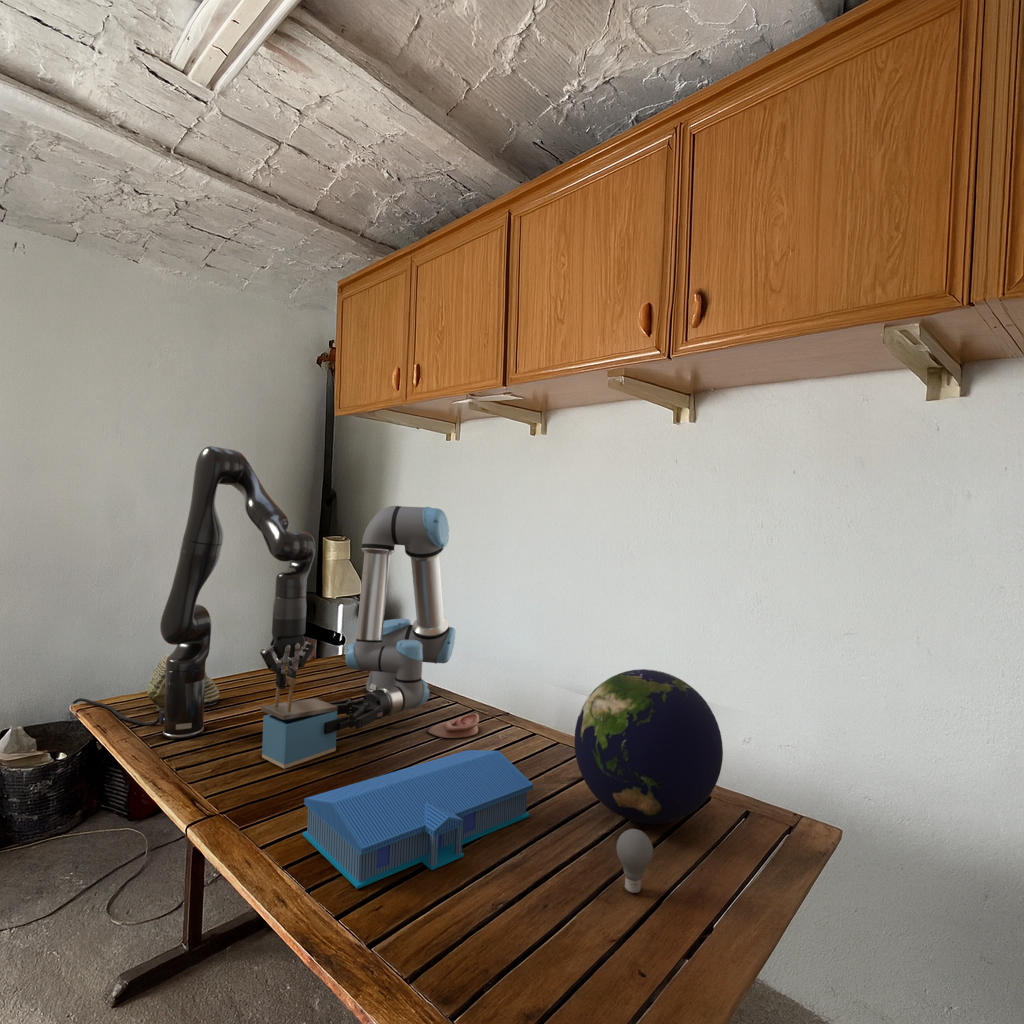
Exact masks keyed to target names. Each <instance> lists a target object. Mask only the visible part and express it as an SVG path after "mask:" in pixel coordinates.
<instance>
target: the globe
mask: <svg viewBox="0 0 1024 1024" xmlns="http://www.w3.org/2000/svg"><path fill="white" fill-rule="evenodd" d="M573 741H574V754H575V758H576V759H575V760H576V763H577V766H578V769H579V772H580V775H581V777H582V779H583V781H584V782H585V784H586V786H587V787H588V789H589V790H590V792H591V793H592V794H593V796H594V797H595V798H596V799H597V800H598V801H599V802H600V803H601V804H602V805H603V806H604V807H606V808H607V809H608V810H610V811H611V812H613V813H614V814H615V815H617V816H620V817H622V818H624V819H626V820H628V821H631V822H634V823H639V824H645V825H663V824H668V823H672V822H676V821H679V820H682V819H684V818H686V817H688V816H689V815H692V813H694V812H695V811H697V810H698V809H699V808H700V807H701V806H702V805H703V804H704V803H705V802H706V801H707V800H708V799H709V797H710V796H711V794H712V793H713V791H714V789H715V787H716V786H717V783H718V781H719V778H720V774H721V770H722V766H723V760H724V748H723V739H722V733H721V730H720V727H719V724H718V721H717V718H716V716H715V714H714V712H713V710H712V709H711V707H710V705H709V704H708V702H707V701H706V700H705V698H704V697H703V696H702V695H701V694H700V693H699V692H698V691H697V689H695V688H694V687H692V686H691V685H690V684H689V683H687V682H686V681H684V680H682V678H681V679H680V678H679V677H677V676H675V675H673V674H671V673H667V672H664V671H662V670H661V671H660V670H657V669H651V668H641V669H640V668H639V669H631V670H626V671H622V672H620V673H618V674H614V675H612V676H611V677H608V678H606V680H604V681H603V682H602V683H600V684H599V685H598V686H597V687H595V688H594V689H593V690H592V692H591V693H590V694H589V695H588V697H587V698H586V700H585V701H584V703H583V705H582V707H581V708H580V711H579V713H578V716H577V719H576V723H575V729H574V740H573Z"/></svg>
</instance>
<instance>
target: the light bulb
mask: <svg viewBox="0 0 1024 1024" xmlns="http://www.w3.org/2000/svg"><path fill="white" fill-rule="evenodd" d="M615 849H616V854H617V857H618V859H619V861H620V863H621V865H622V867H623V873H624V874H623V875H624V876H625V878H624V888H625V890H627V891H628V892H630V893H634V894H635V893H639V892H640V891H641V889H642V887H641V886H642V879H643V877H644V875H645V871H646V868H647V867H648V866H649V864H650V863H651V861H652V859H653V855H654V847H653V843H652V841H651V838H649V836H648V835H647V834H646V833H645V832H643V831H642V830H641V829H636V828H629V829H627V830H625V831H623V832H622V833H621V834H620V835H619V837H618V839H617V841H616V847H615Z"/></svg>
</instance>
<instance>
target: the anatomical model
mask: <svg viewBox="0 0 1024 1024" xmlns="http://www.w3.org/2000/svg"><path fill="white" fill-rule="evenodd" d="M479 722H480V716H479V714H478V713H476V712H474V713H469V714H465V715H462V716H459V717H456V718H453V719H451V720H447V721H443V722H440V723H437V724H435V725H433V726H432V727H430V728H428V730H427V733H428V734H430V735H432V736H436V737H438V738H444V739H458V738H459V739H460V738H466V737H467V738H468V737H471V736H474V735H476V734H478V732H479V727H478V726H477V725H478V724H479Z"/></svg>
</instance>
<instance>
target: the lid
mask: <svg viewBox="0 0 1024 1024" xmlns="http://www.w3.org/2000/svg"><path fill="white" fill-rule="evenodd" d="M286 684H287V685H290V687H288V696H287V701H286V702H280V695H281V689H279V688H278V687H277V686H276V690H275V698H274V703H272V704H265V705H261V706H260V711H261V712H264V713H266V714H267V715H269V714H271V715H273V716H275V717H278V718H280V719H282V720H286V719H292V718H298V717H304V716H309V715H315V714H321V713H327V712H332V711H337V708H338V707H337V706H335V705H332V704H329V703H327V702H328V701H327V702H326V701H324V700H321V699H318V698H316V697H313V698H307V699H299V700H293V696H294V687H295V686H296V684H297V678H296V679H294V678H291V677H288V676H287V675H286V681H285V685H286ZM287 685H286V686H287Z"/></svg>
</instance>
